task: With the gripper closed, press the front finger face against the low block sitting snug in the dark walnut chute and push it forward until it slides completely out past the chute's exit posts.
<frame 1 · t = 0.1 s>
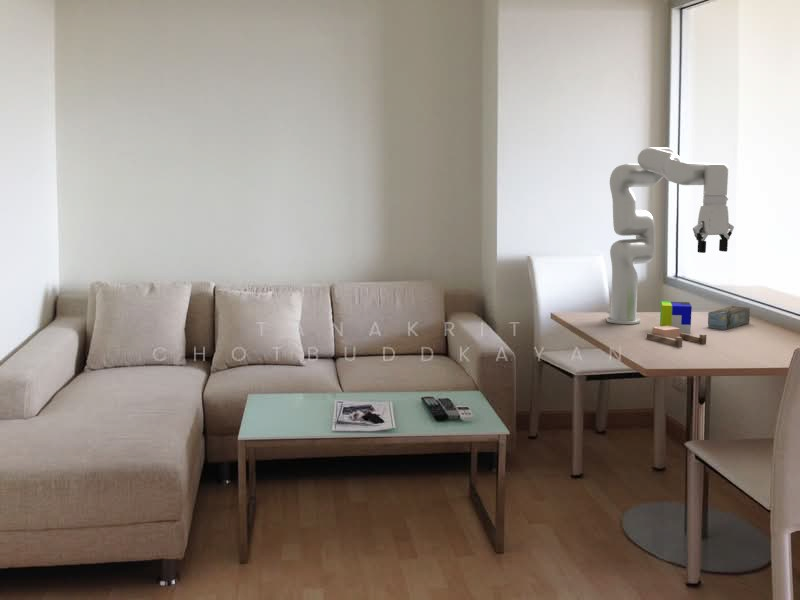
hand: (712, 251, 324), 31 cm above the table, fingers open, 9 cm apart
puzzle toy: (674, 331, 351), on the table
block: (665, 339, 336), on the table
beverage carton: (728, 326, 362), on the table
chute: (675, 340, 332), on the table
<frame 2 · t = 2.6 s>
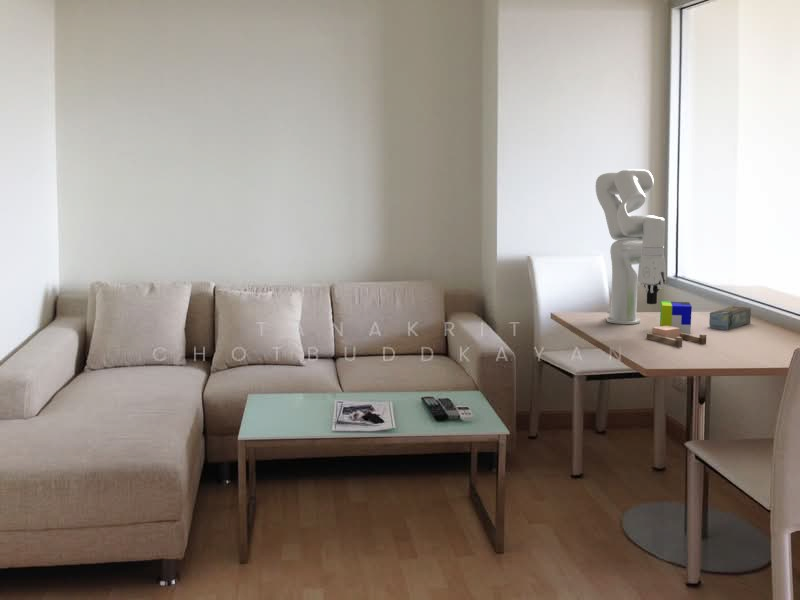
hand: (651, 303, 341), 11 cm above the table, fingers closed
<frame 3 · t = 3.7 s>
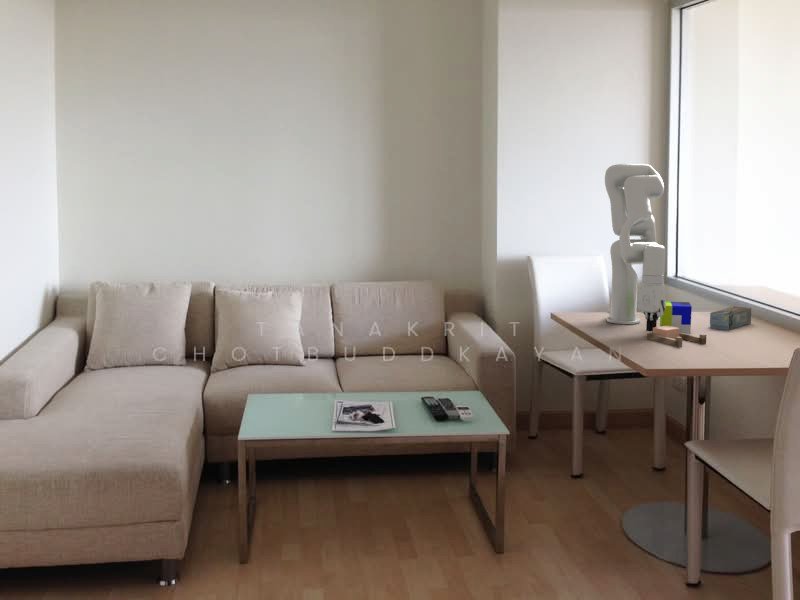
hand: (651, 330, 343), 1 cm above the table, fingers closed
nothing on the table moved.
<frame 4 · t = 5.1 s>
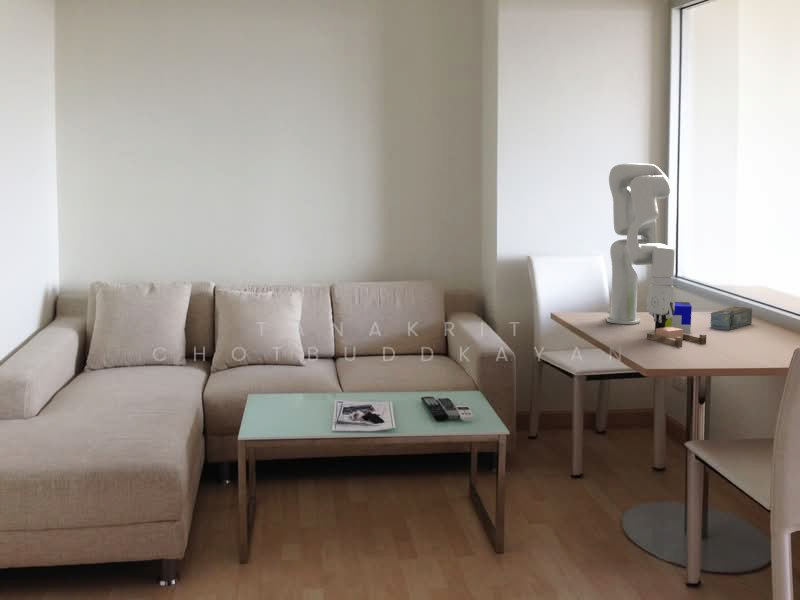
hand: (659, 333, 339), 1 cm above the table, fingers closed
block: (668, 340, 334), on the table
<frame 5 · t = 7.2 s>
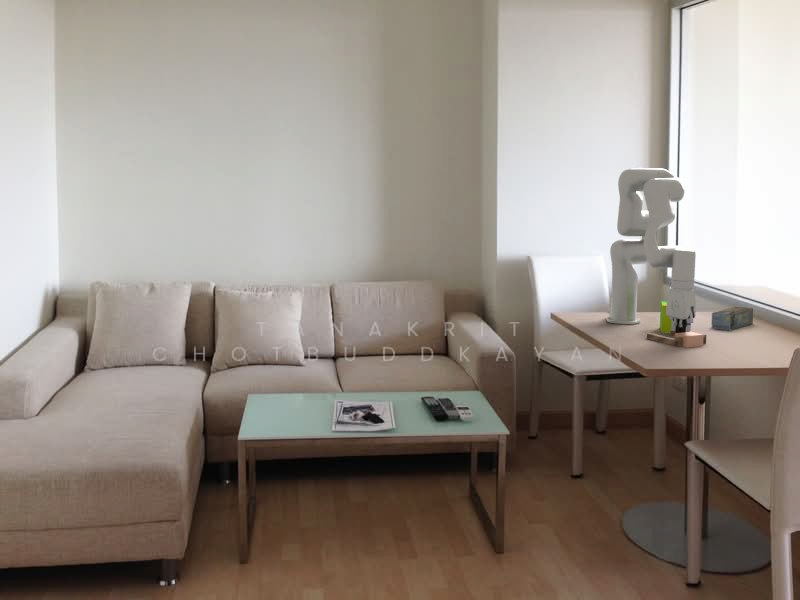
hand: (680, 337, 330), 1 cm above the table, fingers closed
block: (688, 345, 325), on the table, touching gripper
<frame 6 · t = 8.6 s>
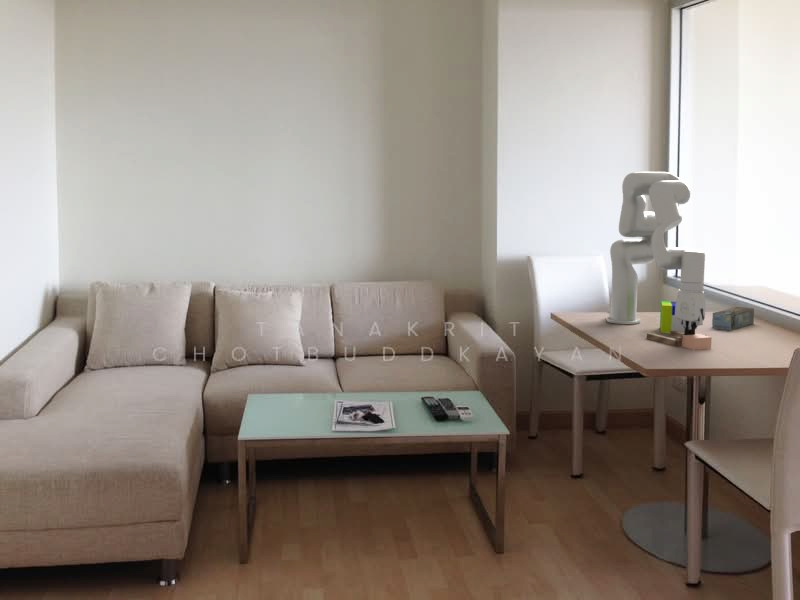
hand: (689, 340, 326), 1 cm above the table, fingers closed
block: (696, 348, 321), on the table
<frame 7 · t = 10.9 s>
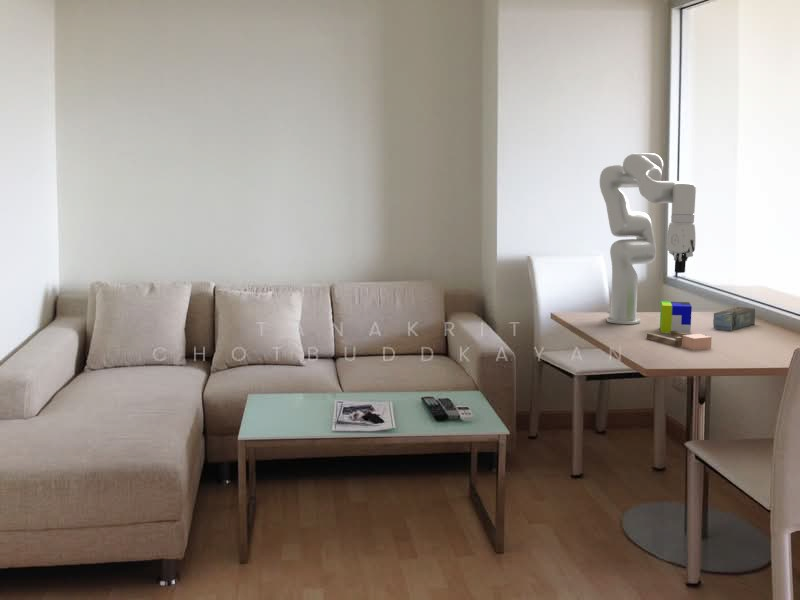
hand: (679, 272, 331), 23 cm above the table, fingers closed
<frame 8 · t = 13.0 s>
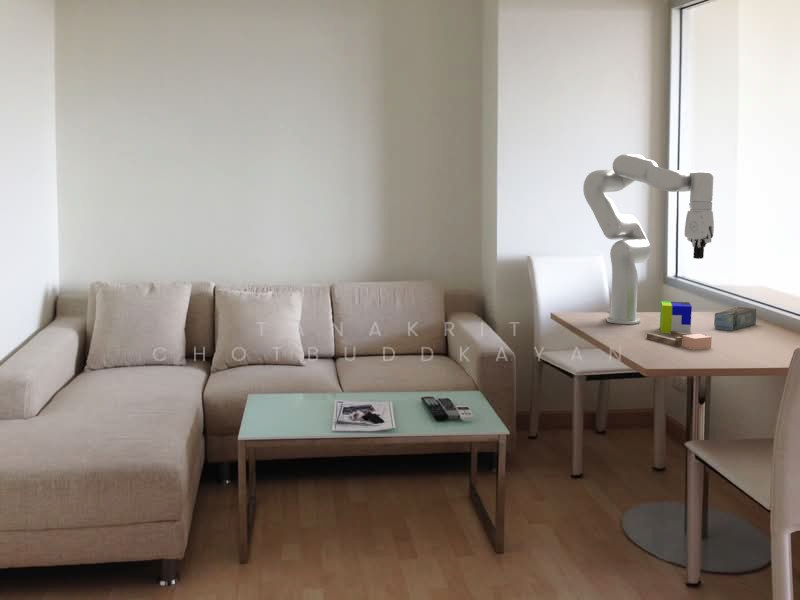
hand: (698, 258, 342), 27 cm above the table, fingers closed
at the end: block inside the target area (2.9 cm from its centre), on the table; block moved 16.5 cm from its start; block tilted 0° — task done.
